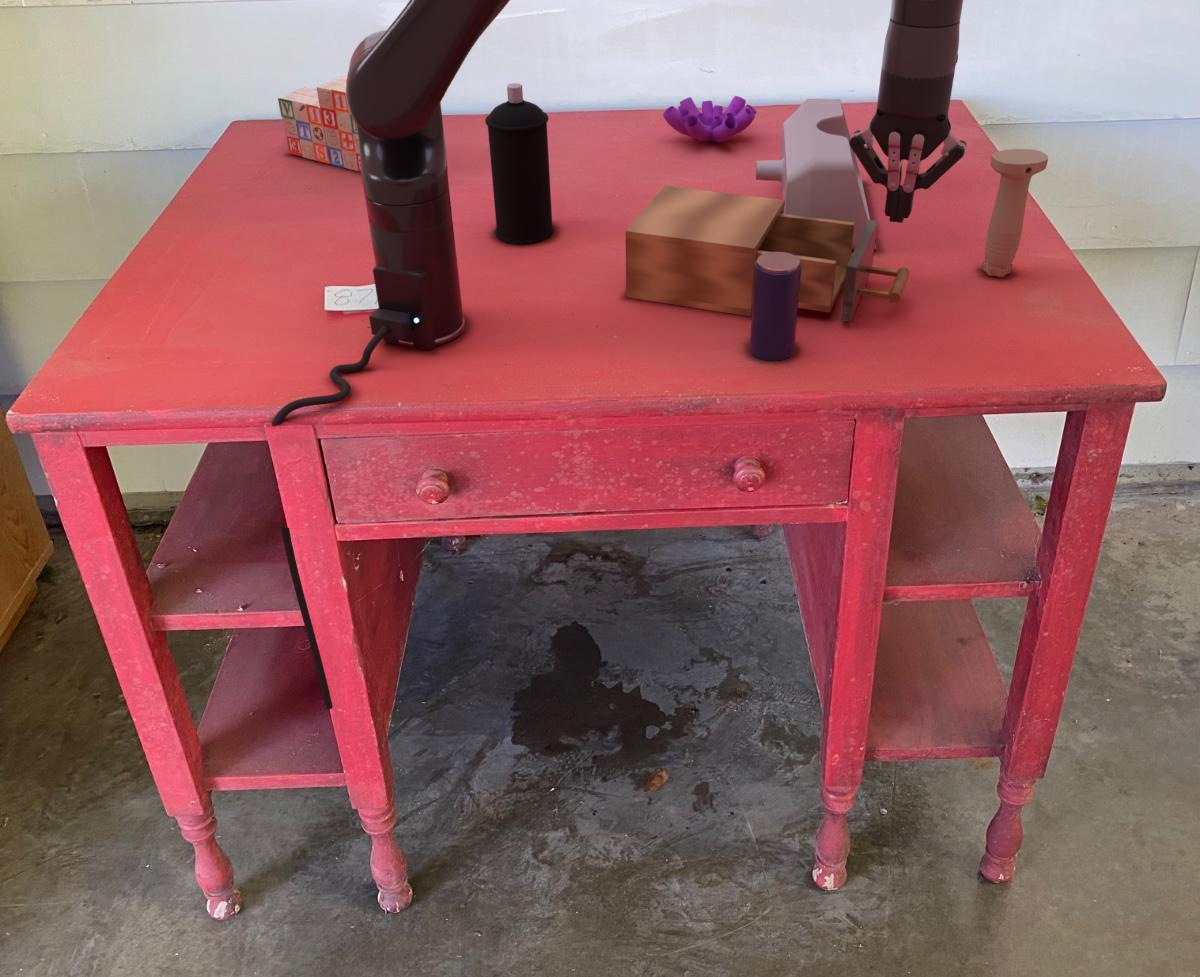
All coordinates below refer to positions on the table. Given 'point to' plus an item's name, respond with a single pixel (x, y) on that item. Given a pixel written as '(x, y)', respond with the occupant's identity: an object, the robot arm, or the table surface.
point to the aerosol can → (520, 170)
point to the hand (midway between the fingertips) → (897, 219)
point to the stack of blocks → (321, 125)
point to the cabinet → (698, 248)
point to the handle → (1009, 206)
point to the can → (775, 305)
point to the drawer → (831, 261)
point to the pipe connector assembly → (710, 119)
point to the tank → (819, 166)
